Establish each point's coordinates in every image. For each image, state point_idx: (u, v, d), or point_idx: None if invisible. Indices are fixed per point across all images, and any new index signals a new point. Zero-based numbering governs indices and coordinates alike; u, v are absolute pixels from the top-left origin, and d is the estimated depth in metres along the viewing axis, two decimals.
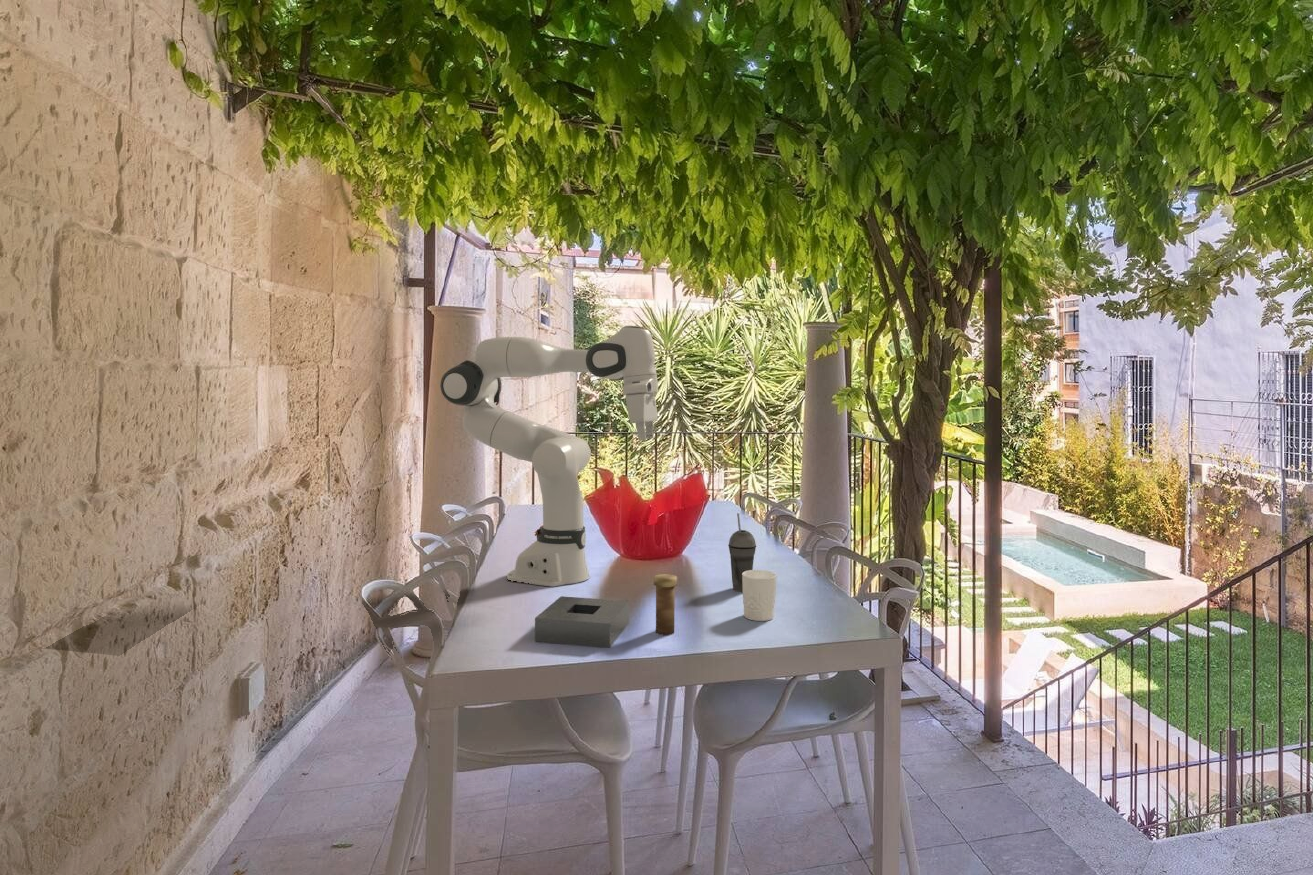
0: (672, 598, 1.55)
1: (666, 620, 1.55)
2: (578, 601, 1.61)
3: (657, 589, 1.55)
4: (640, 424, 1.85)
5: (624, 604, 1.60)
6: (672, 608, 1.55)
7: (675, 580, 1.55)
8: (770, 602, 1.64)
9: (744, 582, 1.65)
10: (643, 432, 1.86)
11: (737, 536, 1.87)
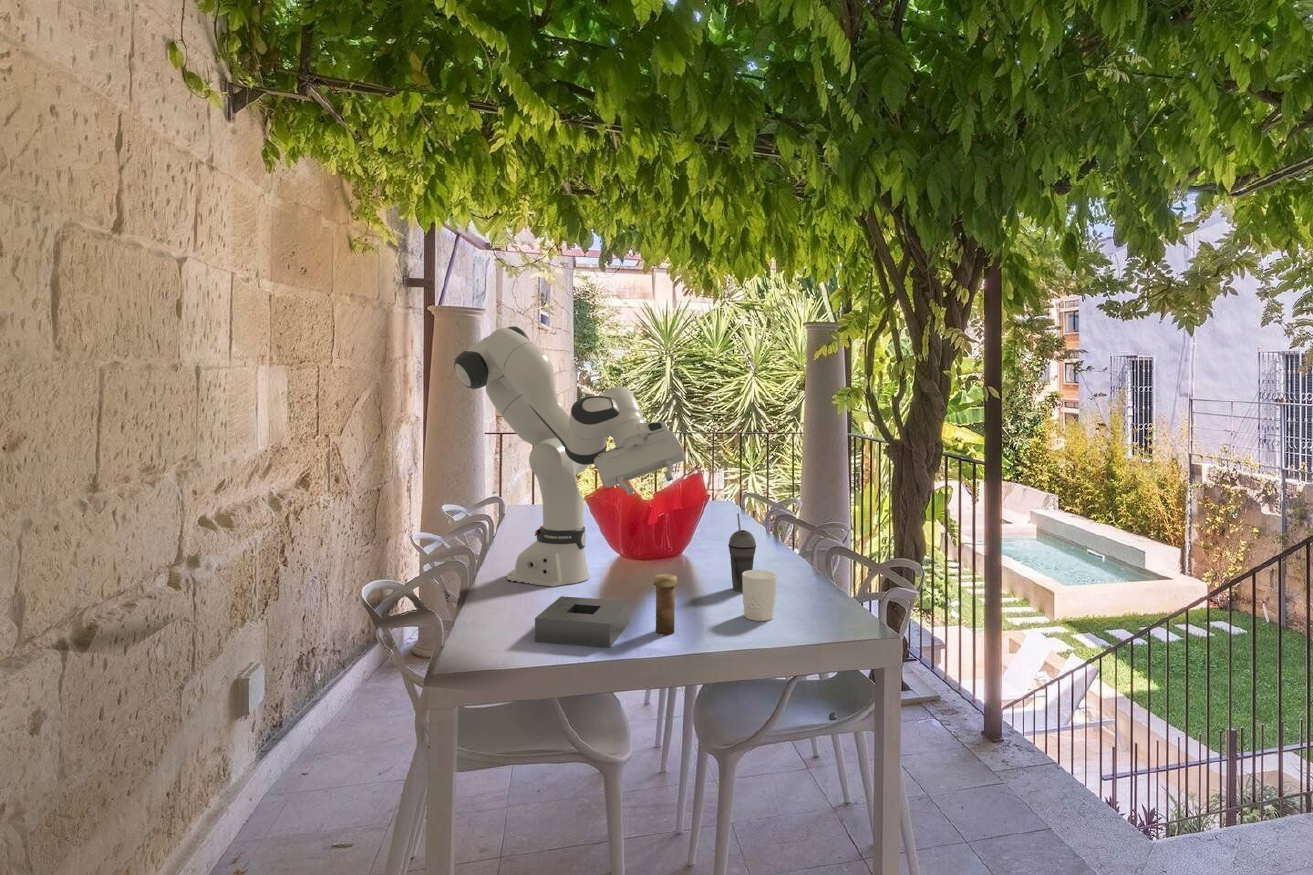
0: (672, 598, 1.55)
1: (666, 620, 1.55)
2: (578, 601, 1.61)
3: (657, 589, 1.55)
4: (672, 463, 1.67)
5: (624, 604, 1.60)
6: (672, 608, 1.55)
7: (675, 580, 1.55)
8: (770, 602, 1.64)
9: (744, 582, 1.65)
10: (671, 472, 1.66)
11: (737, 536, 1.87)
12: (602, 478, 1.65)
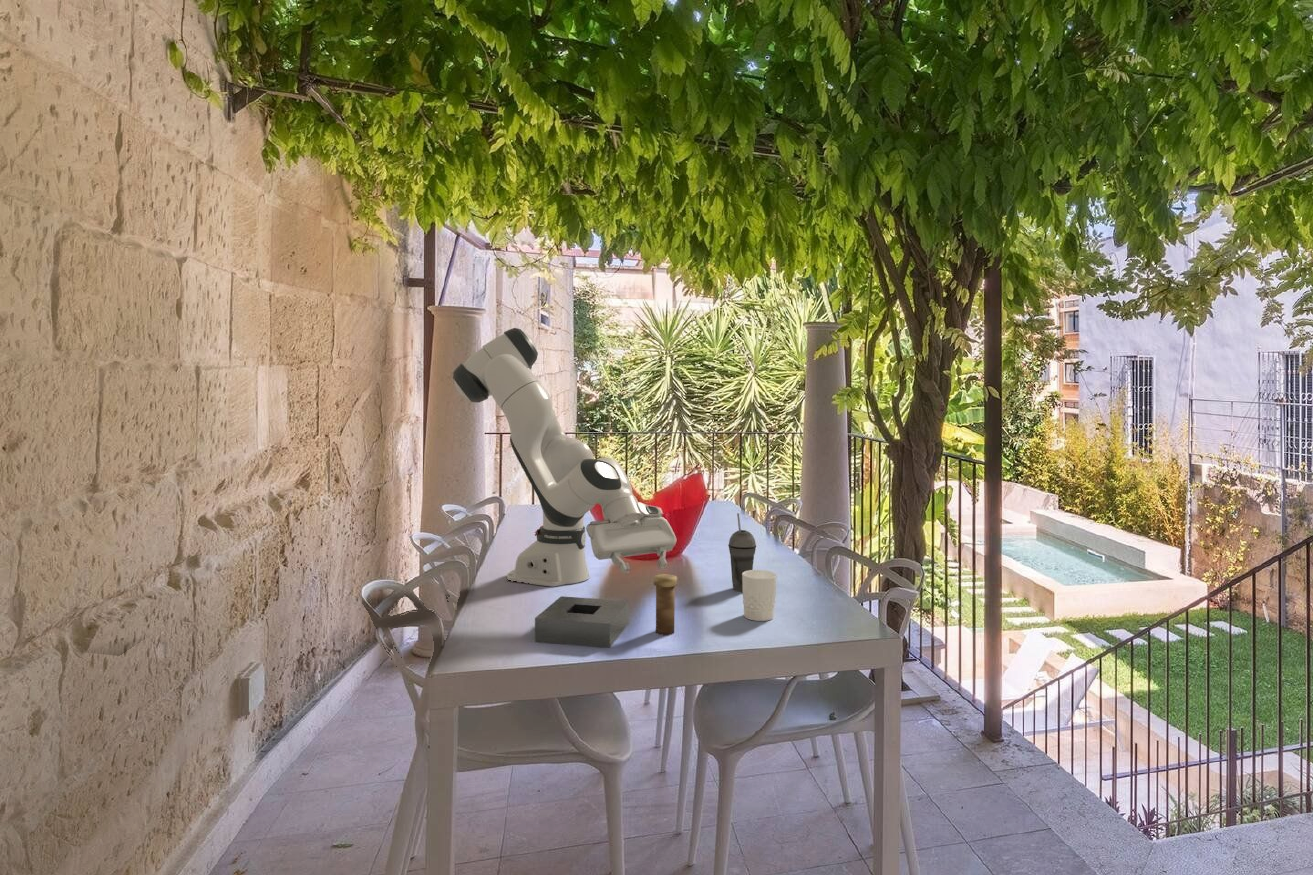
0: (672, 598, 1.55)
1: (666, 620, 1.55)
2: (578, 601, 1.61)
3: (657, 589, 1.55)
4: None
5: (624, 604, 1.60)
6: (672, 608, 1.55)
7: (675, 580, 1.55)
8: (770, 602, 1.64)
9: (744, 582, 1.65)
10: None
11: (737, 536, 1.87)
12: (601, 549, 1.58)
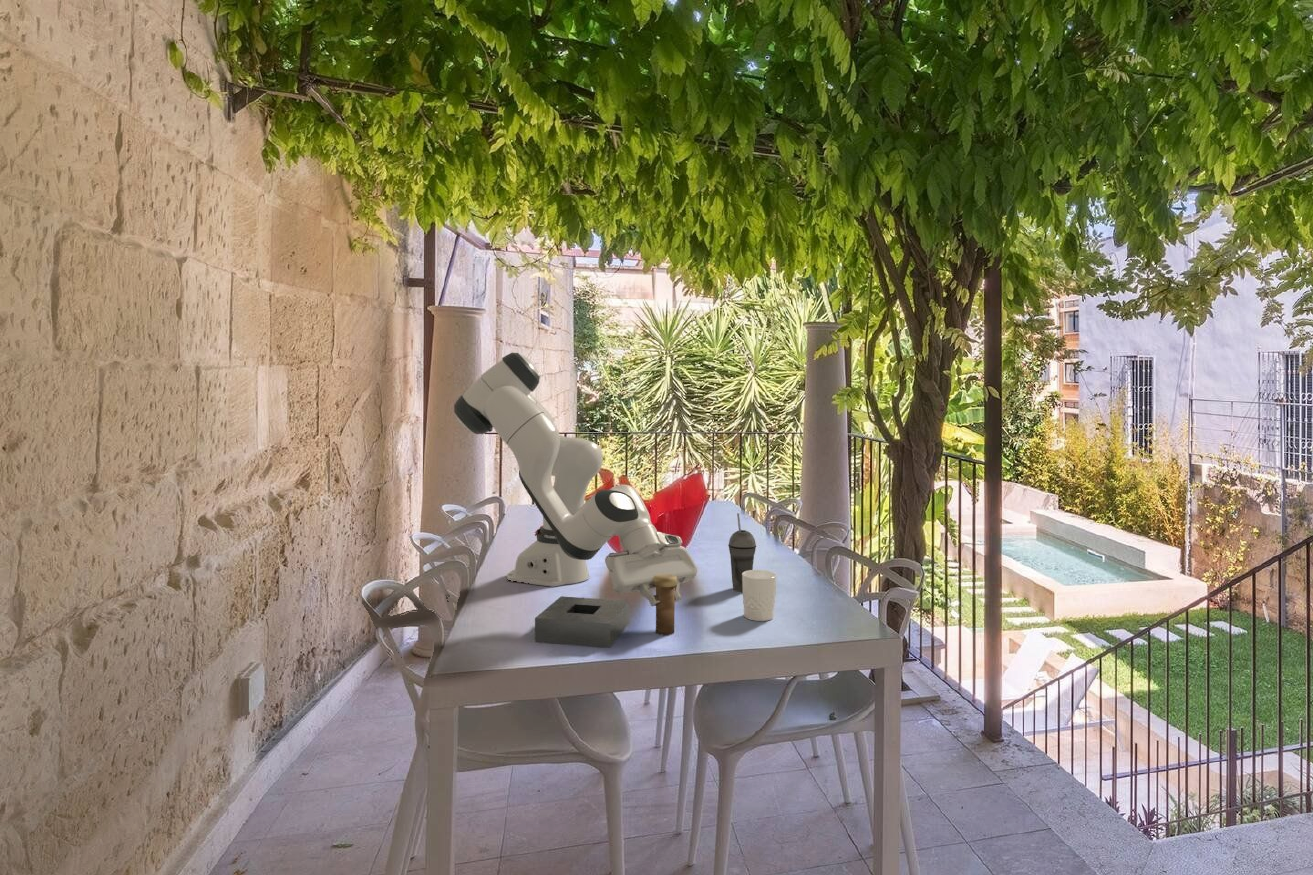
0: (672, 598, 1.55)
1: (666, 620, 1.55)
2: (578, 601, 1.61)
3: (657, 589, 1.55)
4: None
5: (624, 604, 1.60)
6: (672, 608, 1.55)
7: (675, 580, 1.55)
8: (770, 602, 1.64)
9: (744, 582, 1.65)
10: None
11: (737, 536, 1.87)
12: (621, 583, 1.53)
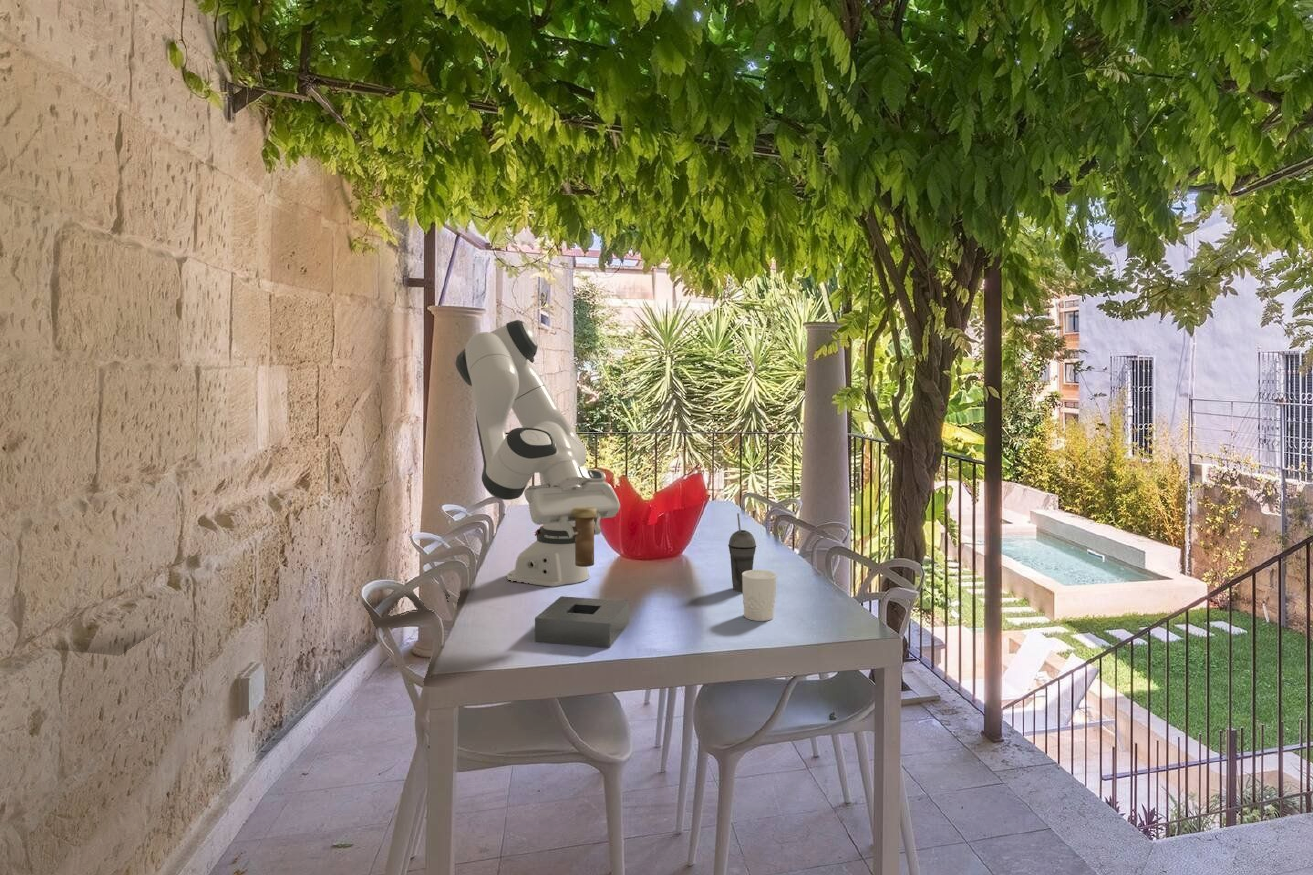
0: (591, 530, 1.53)
1: (584, 551, 1.53)
2: (578, 601, 1.61)
3: (576, 520, 1.54)
4: None
5: (624, 604, 1.60)
6: (591, 540, 1.54)
7: (594, 511, 1.53)
8: (770, 602, 1.64)
9: (744, 582, 1.65)
10: None
11: (737, 536, 1.87)
12: (538, 513, 1.51)
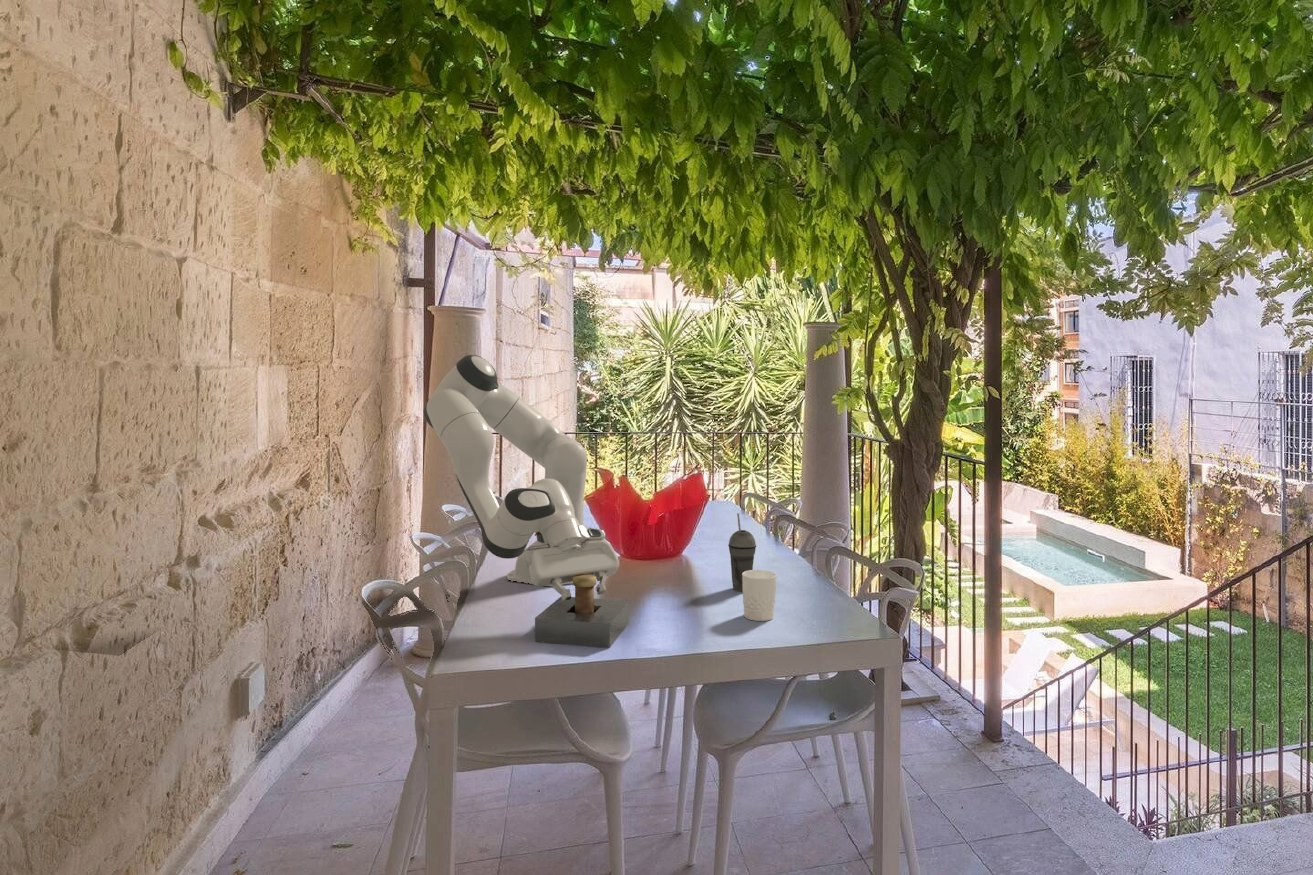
0: (591, 598, 1.55)
1: None
2: None
3: (576, 589, 1.55)
4: None
5: (624, 604, 1.60)
6: (591, 608, 1.55)
7: (594, 580, 1.54)
8: (770, 602, 1.64)
9: (744, 582, 1.65)
10: None
11: (737, 536, 1.87)
12: (538, 576, 1.52)
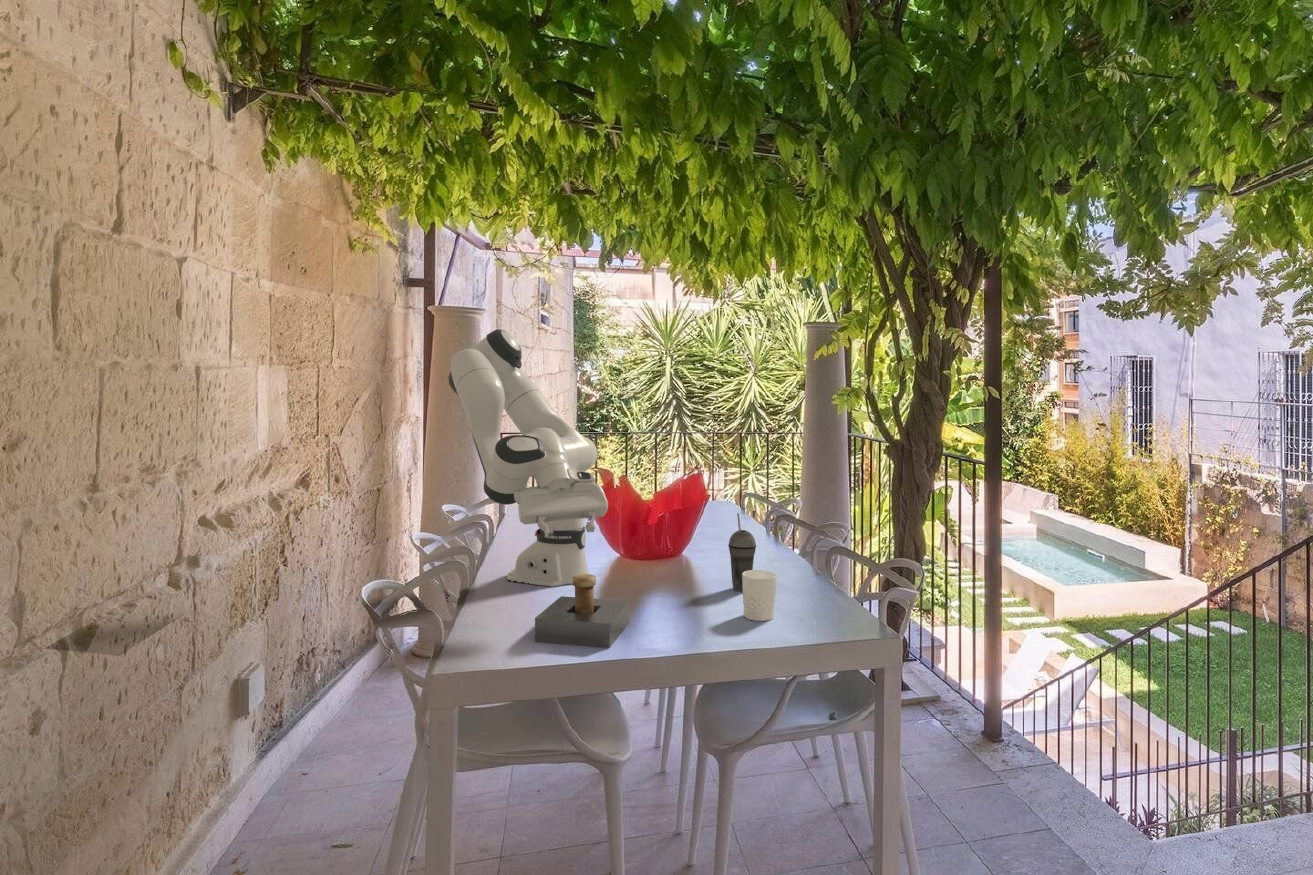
0: (590, 598, 1.55)
1: None
2: None
3: (575, 589, 1.55)
4: None
5: (624, 604, 1.60)
6: (590, 608, 1.55)
7: (593, 580, 1.54)
8: (770, 602, 1.64)
9: (744, 582, 1.65)
10: None
11: (737, 536, 1.87)
12: (523, 513, 1.59)
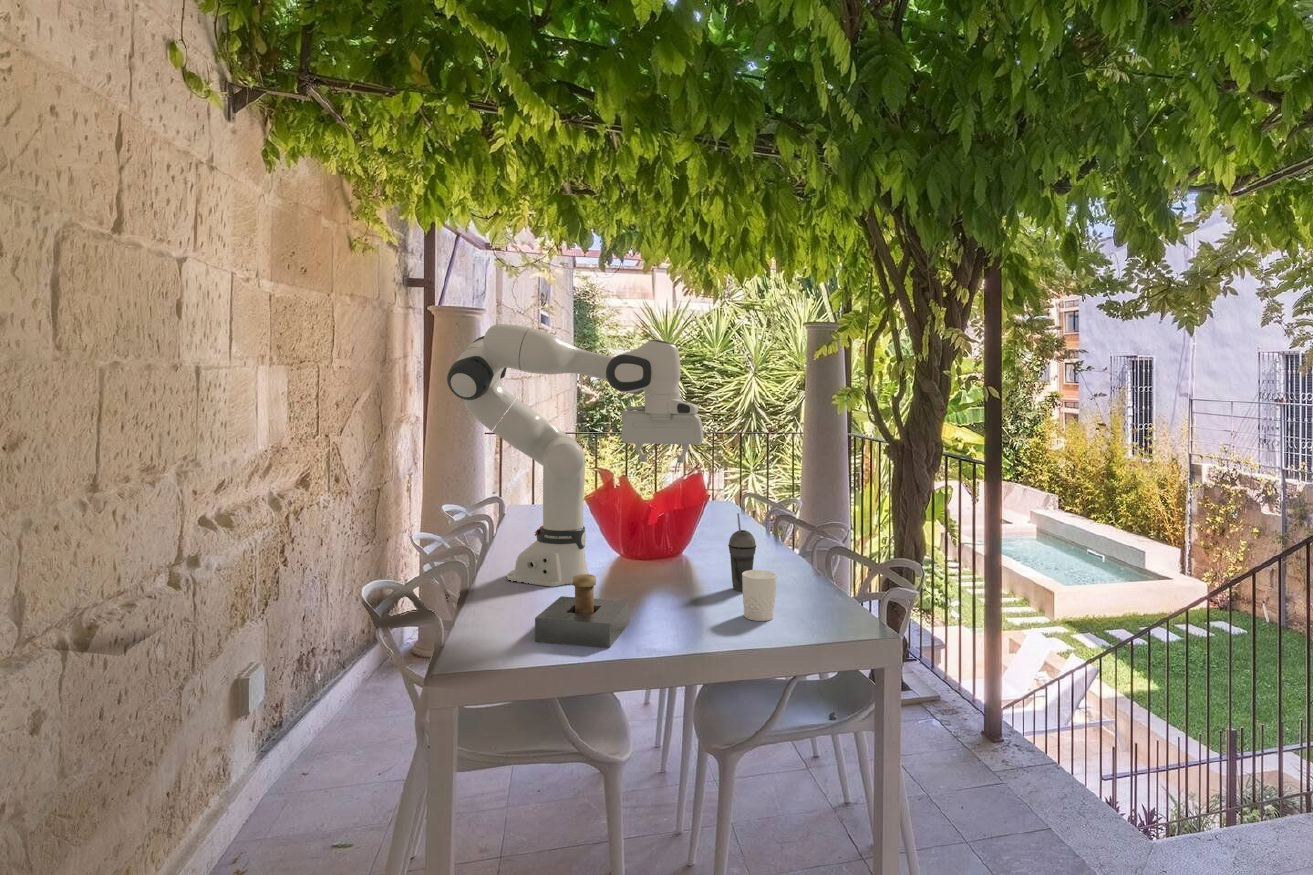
0: (590, 598, 1.55)
1: None
2: None
3: (575, 589, 1.55)
4: (688, 445, 1.79)
5: (624, 604, 1.60)
6: (590, 608, 1.55)
7: (593, 580, 1.54)
8: (770, 602, 1.64)
9: (744, 582, 1.65)
10: None
11: (737, 536, 1.87)
12: (622, 440, 1.80)
